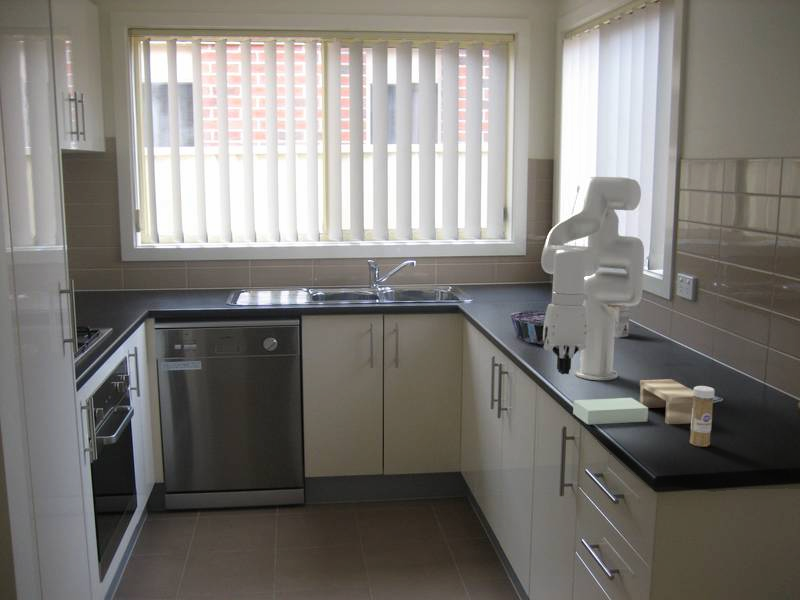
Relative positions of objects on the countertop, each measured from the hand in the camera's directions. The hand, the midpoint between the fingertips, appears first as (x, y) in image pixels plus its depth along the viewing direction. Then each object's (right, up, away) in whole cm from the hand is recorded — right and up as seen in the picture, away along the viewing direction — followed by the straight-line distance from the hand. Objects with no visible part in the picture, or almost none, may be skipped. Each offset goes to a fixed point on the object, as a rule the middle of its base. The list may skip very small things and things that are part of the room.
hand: (563, 372), depth 210 cm
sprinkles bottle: (+29, -16, -14) cm, 36 cm away
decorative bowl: (+13, +4, +95) cm, 96 cm away
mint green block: (+13, -12, +5) cm, 18 cm away
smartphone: (+41, -9, +26) cm, 50 cm away
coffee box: (+39, +5, +104) cm, 111 cm away
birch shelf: (+29, -11, +9) cm, 32 cm away
